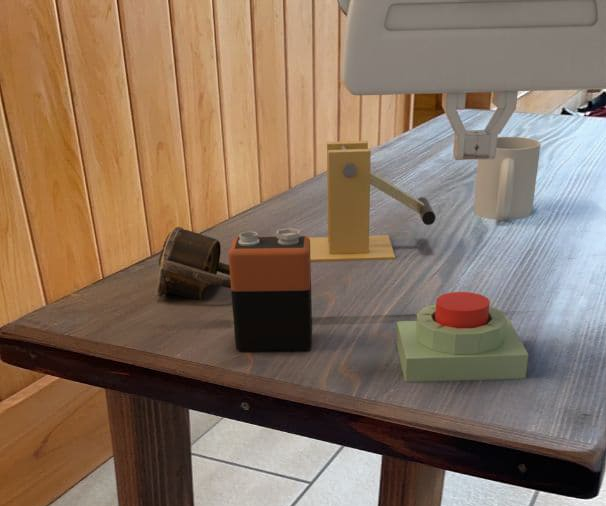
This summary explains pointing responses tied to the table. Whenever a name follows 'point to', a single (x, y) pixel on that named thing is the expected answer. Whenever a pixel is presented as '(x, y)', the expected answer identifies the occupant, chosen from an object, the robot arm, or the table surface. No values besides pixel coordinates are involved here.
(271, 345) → the battery
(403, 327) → the switch block
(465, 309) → the button
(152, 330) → the table surface
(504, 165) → the cup
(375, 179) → the lever
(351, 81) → the robot arm
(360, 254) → the bracket
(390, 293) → the table surface
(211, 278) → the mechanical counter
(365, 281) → the table surface
